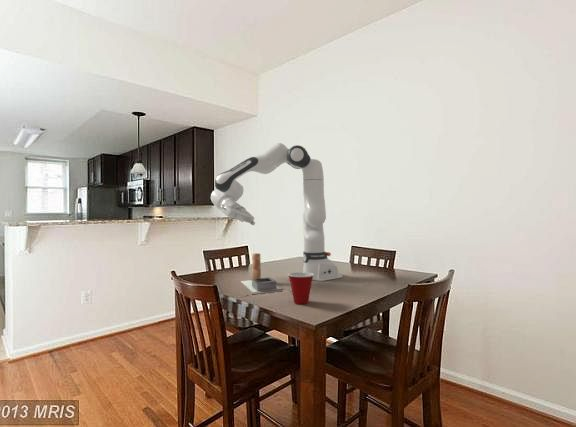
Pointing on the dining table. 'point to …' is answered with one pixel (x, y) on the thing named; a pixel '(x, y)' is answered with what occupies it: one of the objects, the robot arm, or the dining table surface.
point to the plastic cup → (301, 286)
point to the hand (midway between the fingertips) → (248, 222)
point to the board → (261, 285)
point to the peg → (256, 266)
